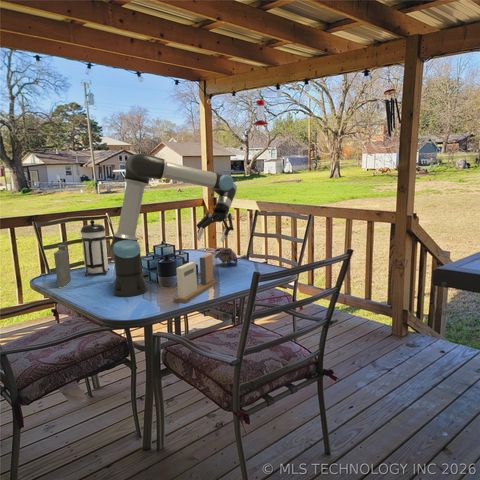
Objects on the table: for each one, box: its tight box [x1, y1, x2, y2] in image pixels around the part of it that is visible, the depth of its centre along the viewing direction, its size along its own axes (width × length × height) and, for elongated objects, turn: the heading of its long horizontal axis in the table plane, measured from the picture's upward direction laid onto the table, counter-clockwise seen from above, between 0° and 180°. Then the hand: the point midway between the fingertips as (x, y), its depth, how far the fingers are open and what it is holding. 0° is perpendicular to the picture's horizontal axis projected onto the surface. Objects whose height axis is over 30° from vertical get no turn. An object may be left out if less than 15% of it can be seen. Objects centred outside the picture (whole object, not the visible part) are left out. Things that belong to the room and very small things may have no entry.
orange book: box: [199, 253, 214, 284], centre depth 187 cm, size 8×3×13 cm, turn 157°
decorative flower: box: [214, 247, 238, 268], centre depth 226 cm, size 14×12×15 cm
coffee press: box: [80, 219, 110, 277], centre depth 214 cm, size 17×16×30 cm
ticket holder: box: [173, 261, 219, 304], centre depth 177 cm, size 30×6×15 cm, turn 157°
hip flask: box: [53, 244, 72, 288], centre depth 198 cm, size 16×4×20 cm, turn 11°
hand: (209, 239), depth 195 cm, fingers open, 13 cm apart
